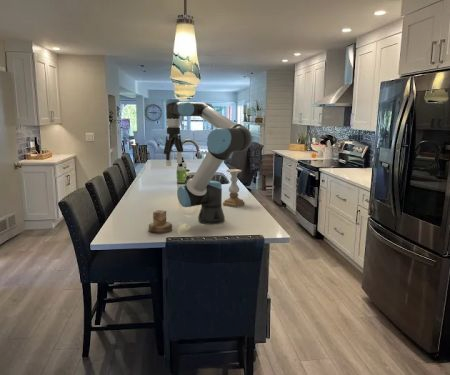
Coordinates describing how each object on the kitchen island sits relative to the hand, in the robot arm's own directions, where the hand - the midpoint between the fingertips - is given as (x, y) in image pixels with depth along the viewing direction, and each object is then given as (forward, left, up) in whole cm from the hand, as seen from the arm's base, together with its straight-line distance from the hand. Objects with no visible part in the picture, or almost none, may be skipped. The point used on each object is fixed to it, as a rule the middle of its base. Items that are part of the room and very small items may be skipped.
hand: (174, 164), depth 212 cm
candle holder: (-23, -43, -32) cm, 58 cm away
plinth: (-3, +24, -32) cm, 40 cm away
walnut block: (-3, +24, -29) cm, 38 cm away
